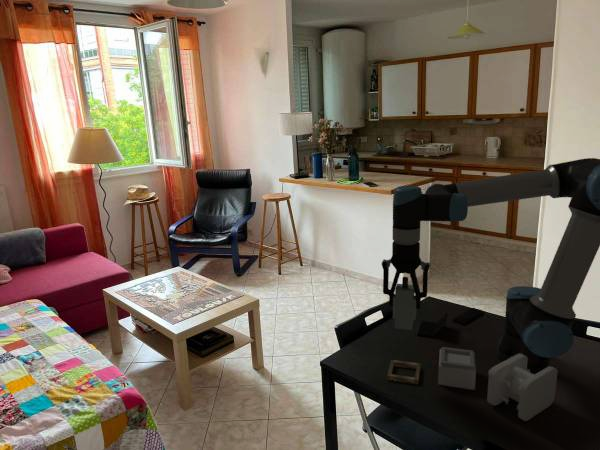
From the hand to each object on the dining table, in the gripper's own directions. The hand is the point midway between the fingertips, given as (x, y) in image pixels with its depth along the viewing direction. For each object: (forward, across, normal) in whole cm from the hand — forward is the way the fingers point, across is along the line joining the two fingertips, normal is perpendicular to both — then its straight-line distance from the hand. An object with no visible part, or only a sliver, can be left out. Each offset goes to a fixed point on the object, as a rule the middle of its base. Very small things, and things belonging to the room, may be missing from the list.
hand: (404, 316), depth 131 cm
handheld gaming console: (+19, -7, -30) cm, 36 cm away
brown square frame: (+19, 0, 0) cm, 19 cm away
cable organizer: (+19, -31, +7) cm, 37 cm away
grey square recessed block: (+19, -15, -2) cm, 24 cm away
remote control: (+19, -20, -44) cm, 52 cm away
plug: (+3, 0, 0) cm, 3 cm away
